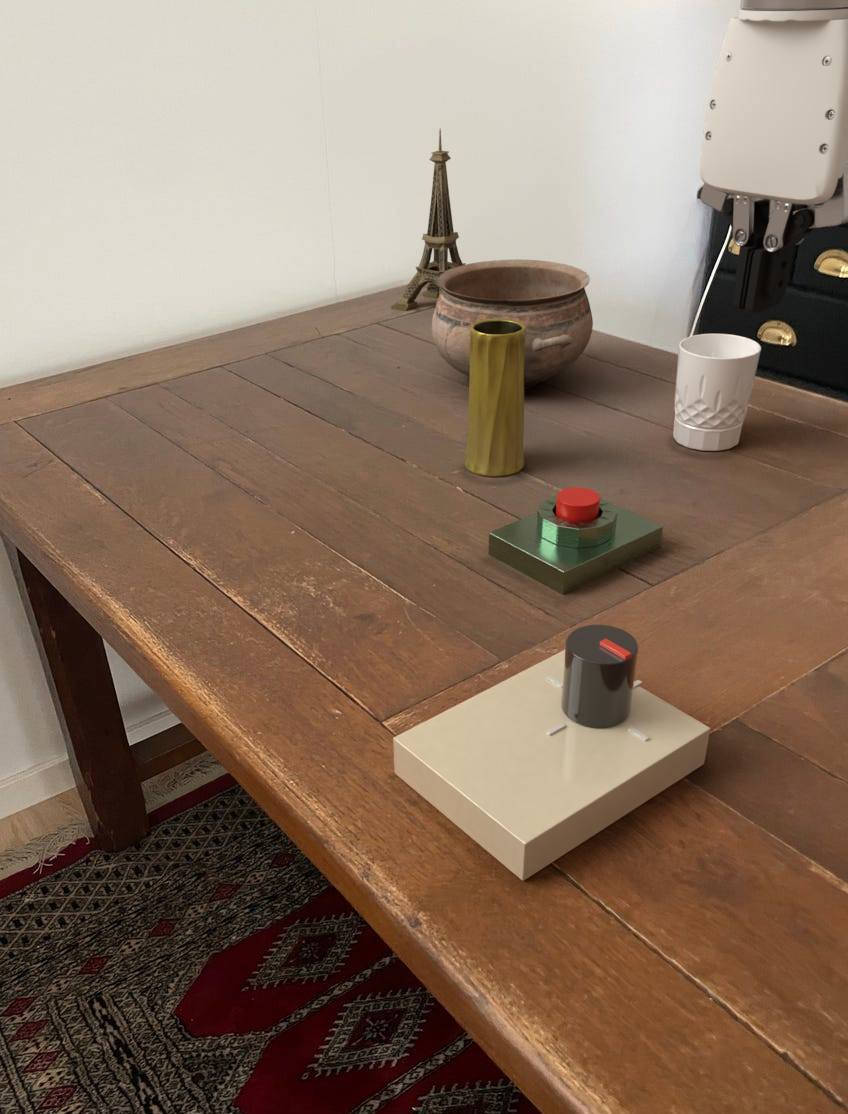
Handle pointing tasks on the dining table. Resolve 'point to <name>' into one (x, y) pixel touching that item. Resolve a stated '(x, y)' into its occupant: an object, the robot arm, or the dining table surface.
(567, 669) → the stove knob
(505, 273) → the cooking pot
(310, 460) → the dining table surface
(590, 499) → the ignition button
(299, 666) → the dining table surface
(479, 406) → the vase
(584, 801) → the beige knob base
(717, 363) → the white cup
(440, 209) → the eiffel tower
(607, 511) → the green button box
